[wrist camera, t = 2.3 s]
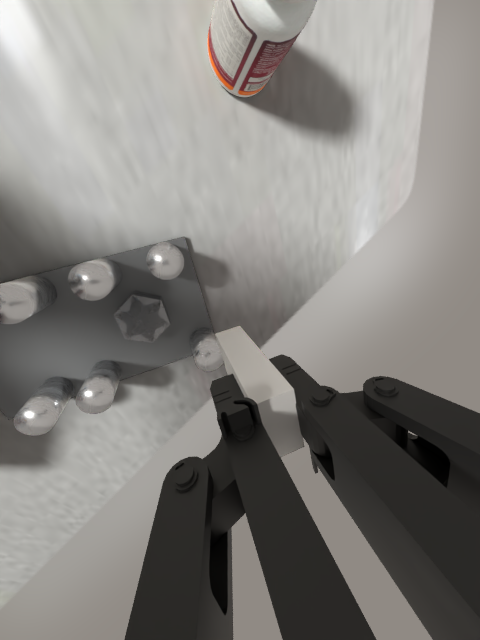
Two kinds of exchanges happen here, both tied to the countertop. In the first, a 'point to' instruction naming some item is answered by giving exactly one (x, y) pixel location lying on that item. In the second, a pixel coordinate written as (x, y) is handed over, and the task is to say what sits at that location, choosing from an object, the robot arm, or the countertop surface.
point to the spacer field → (103, 379)
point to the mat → (97, 329)
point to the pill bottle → (253, 40)
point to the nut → (142, 317)
